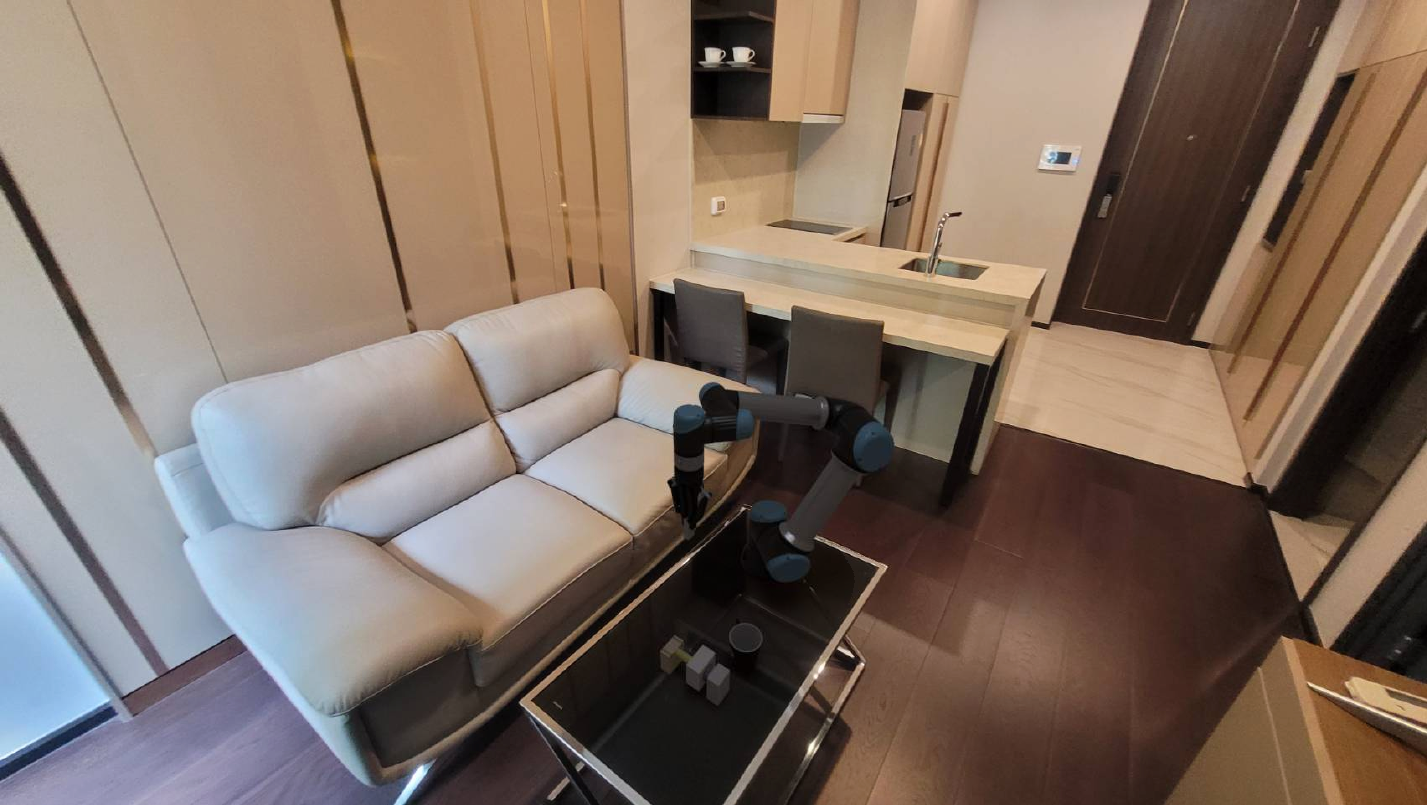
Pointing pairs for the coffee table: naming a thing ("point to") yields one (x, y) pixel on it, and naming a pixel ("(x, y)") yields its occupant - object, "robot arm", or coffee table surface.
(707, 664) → the sleeve
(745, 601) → the coffee table surface
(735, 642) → the coffee mug
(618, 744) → the coffee table surface
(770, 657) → the coffee table surface
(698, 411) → the robot arm
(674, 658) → the blocks on yellow rod
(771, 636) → the coffee table surface
